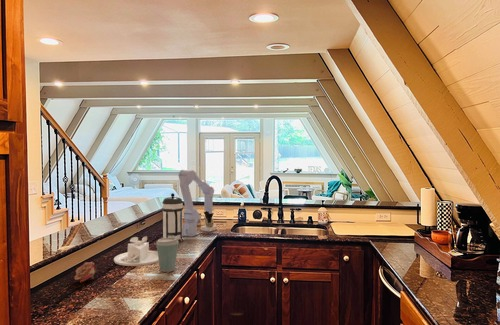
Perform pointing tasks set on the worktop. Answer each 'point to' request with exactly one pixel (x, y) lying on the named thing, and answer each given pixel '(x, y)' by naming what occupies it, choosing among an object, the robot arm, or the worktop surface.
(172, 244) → the disposable coffee cup
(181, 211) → the coffee press
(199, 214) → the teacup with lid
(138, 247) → the dish
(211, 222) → the brass cube
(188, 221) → the robot arm
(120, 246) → the worktop surface
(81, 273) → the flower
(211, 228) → the ceramic plinth
